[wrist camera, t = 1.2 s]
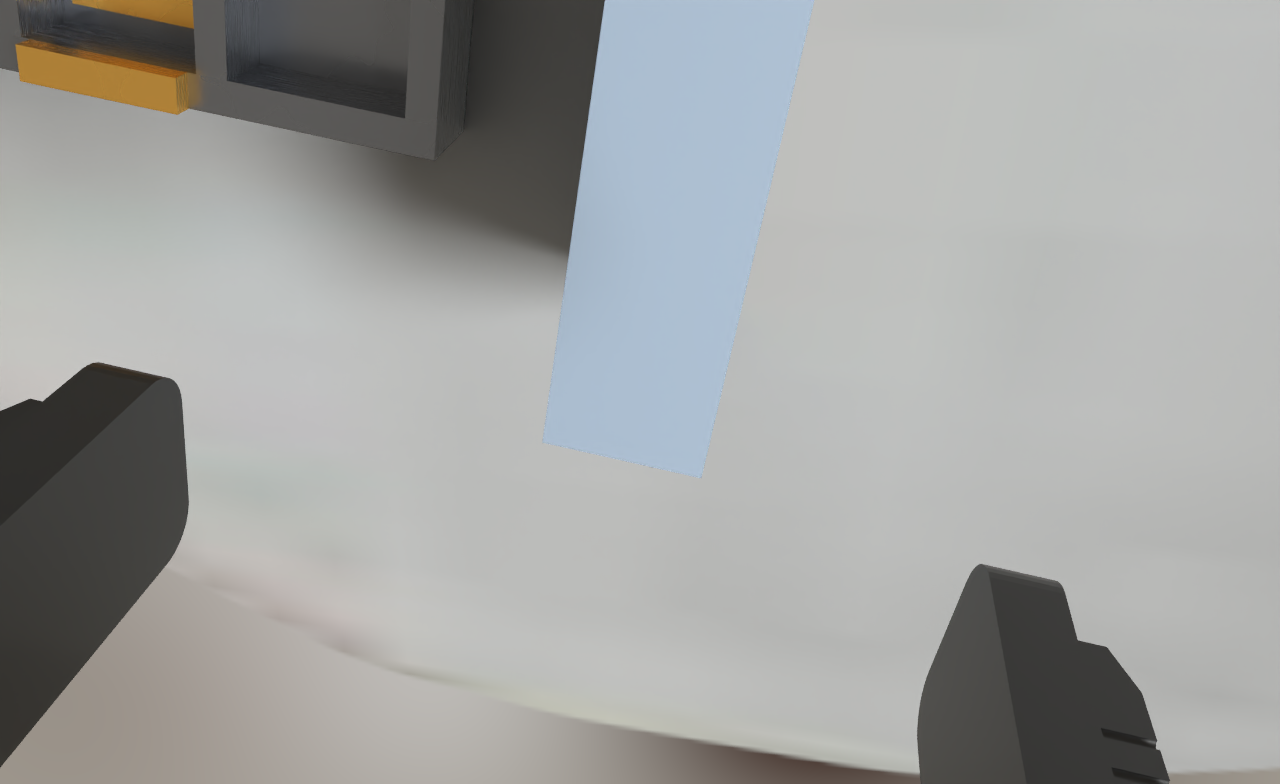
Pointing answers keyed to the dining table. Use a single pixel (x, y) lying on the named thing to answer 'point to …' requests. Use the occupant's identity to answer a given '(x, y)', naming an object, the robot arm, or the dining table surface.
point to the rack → (260, 61)
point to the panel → (668, 221)
